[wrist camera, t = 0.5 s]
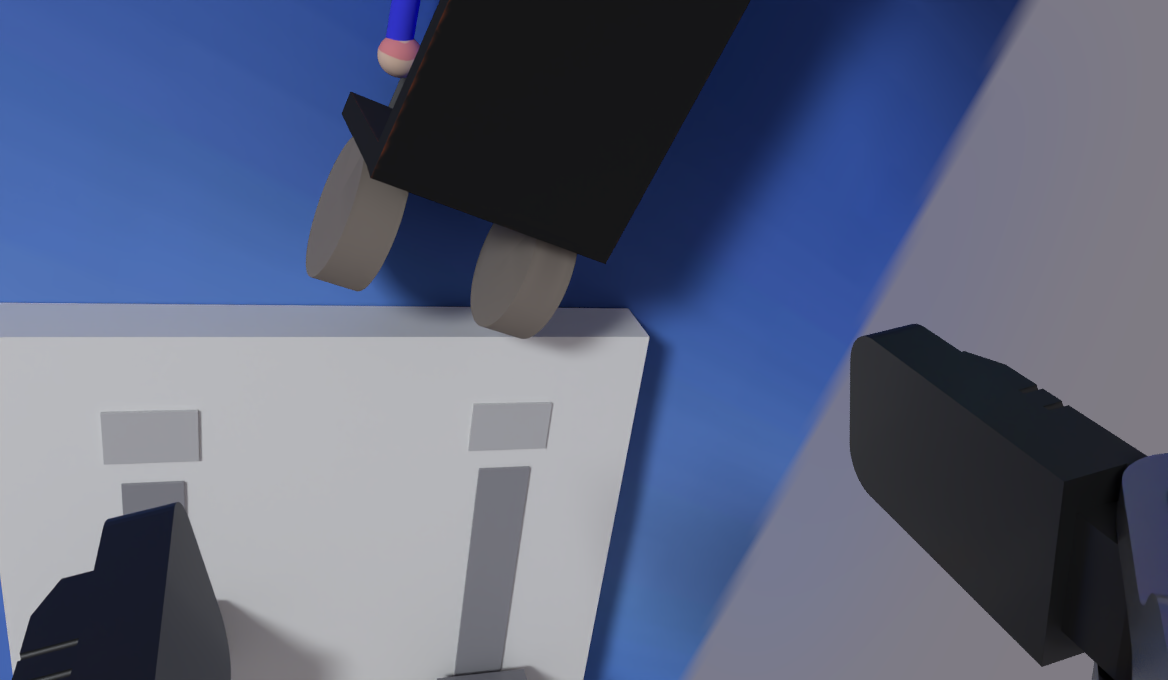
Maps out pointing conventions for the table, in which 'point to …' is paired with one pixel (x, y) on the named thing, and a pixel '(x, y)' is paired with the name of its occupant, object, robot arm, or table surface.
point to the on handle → (492, 676)
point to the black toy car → (517, 137)
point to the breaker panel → (330, 474)
